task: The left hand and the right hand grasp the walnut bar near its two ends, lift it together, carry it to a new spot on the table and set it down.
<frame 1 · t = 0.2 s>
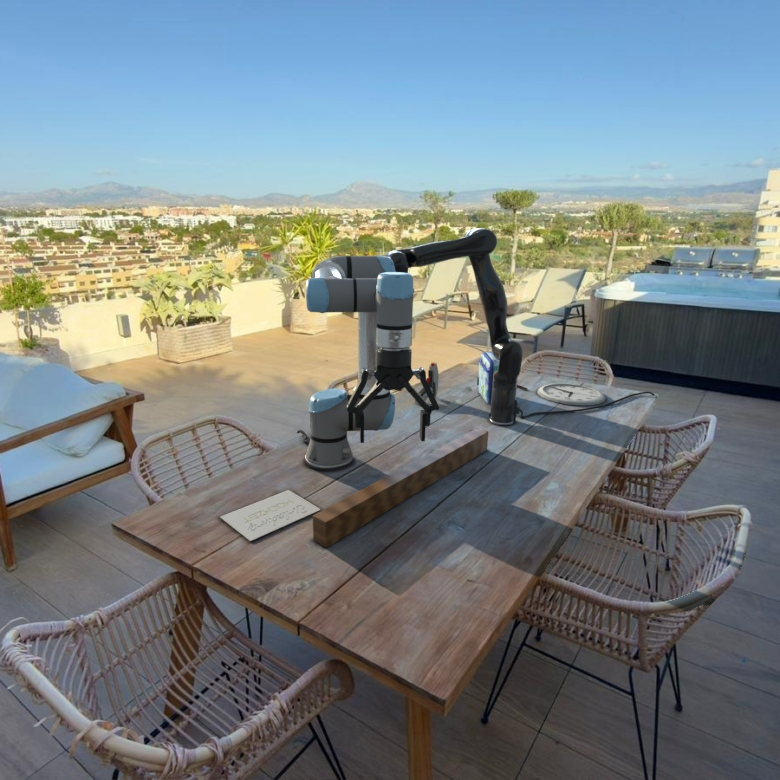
left hand: (392, 440, 117), 27 cm above the table, tool pointing down, fingers open, 13 cm apart
right hand: (394, 355, 187), 29 cm above the table, tool pointing down, fingers open, 8 cm apart
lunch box: (491, 399, 234), on the table
wall clock: (570, 395, 241), on the table
invitation card: (271, 514, 138), on the table
ruler: (515, 386, 253), on the table
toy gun: (426, 400, 230), on the table
bar: (415, 487, 153), on the table
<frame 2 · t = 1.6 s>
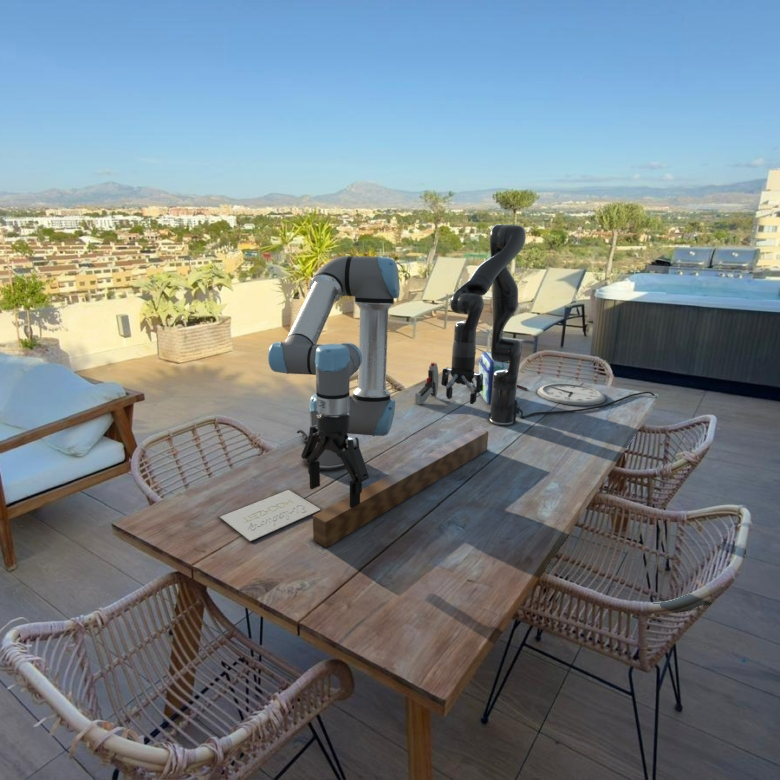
left hand: (334, 496, 126), 11 cm above the table, tool pointing down, fingers open, 13 cm apart
right hand: (460, 400, 176), 17 cm above the table, tool pointing down, fingers open, 8 cm apart
nothing on the table moved.
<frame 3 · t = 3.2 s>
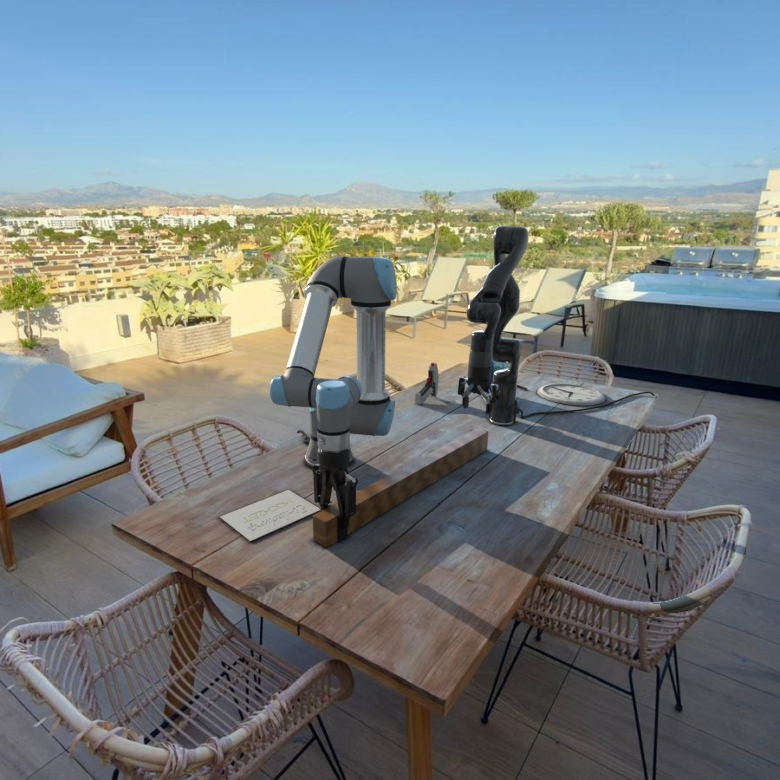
left hand: (335, 534, 129), 0 cm above the table, tool pointing down, fingers closed on bar, 4 cm apart
right hand: (476, 410, 173), 15 cm above the table, tool pointing down, fingers open, 8 cm apart
bar: (415, 487, 153), on the table, touching left hand
everything else where it was.
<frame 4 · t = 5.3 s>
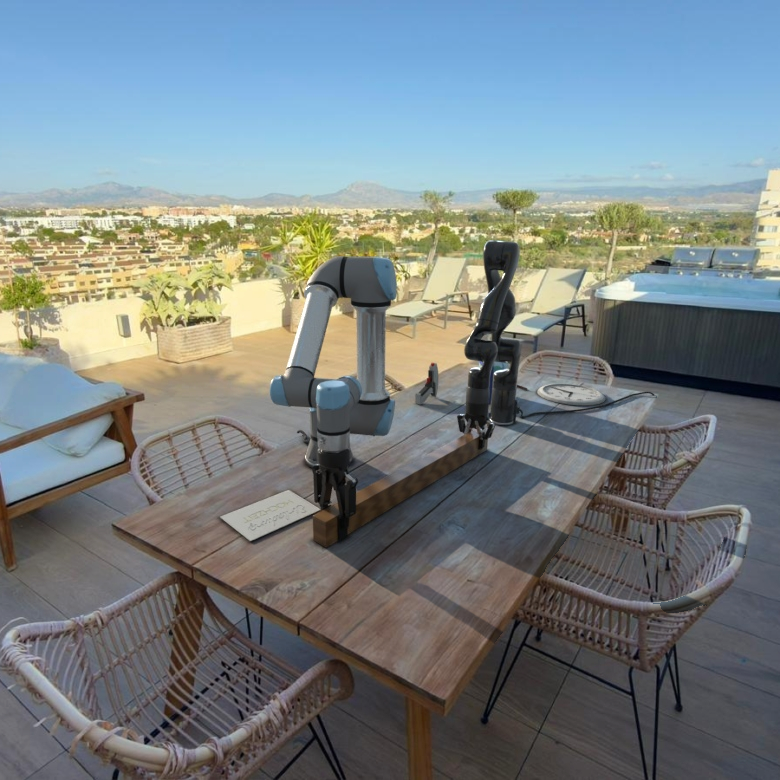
left hand: (335, 534, 129), 0 cm above the table, tool pointing down, fingers closed on bar, 4 cm apart
right hand: (474, 446, 177), 2 cm above the table, tool pointing down, fingers closed on bar, 4 cm apart
bar: (415, 487, 153), on the table, touching right hand, left hand
everything else where it was.
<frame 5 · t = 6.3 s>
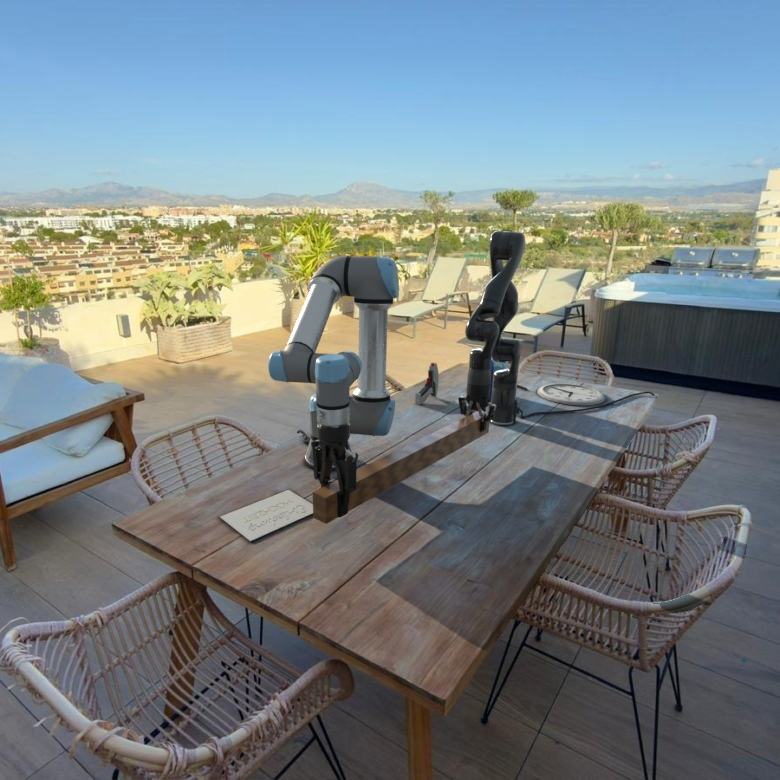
left hand: (335, 510, 128), 7 cm above the table, tool pointing down, fingers closed on bar, 4 cm apart
right hand: (475, 429, 175), 9 cm above the table, tool pointing down, fingers closed on bar, 4 cm apart
bar: (416, 467, 152), point 6 cm above the table, touching right hand, left hand
everything else where it was.
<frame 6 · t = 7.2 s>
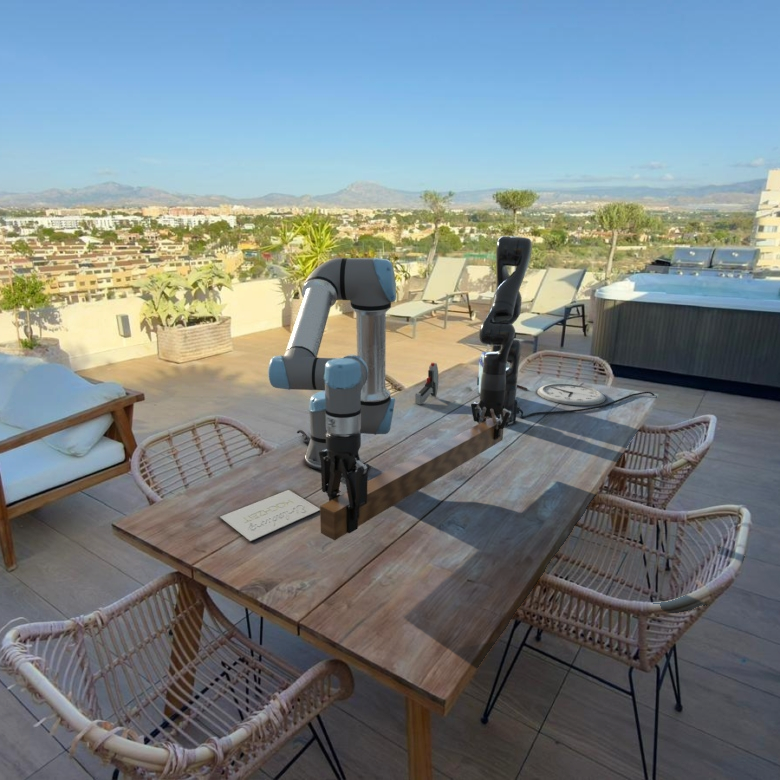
left hand: (344, 526, 119), 8 cm above the table, tool pointing down, fingers closed on bar, 4 cm apart
right hand: (489, 436, 167), 9 cm above the table, tool pointing down, fingers closed on bar, 4 cm apart
bar: (428, 478, 144), point 7 cm above the table, touching right hand, left hand
everything else where it was.
when the left hand's fingers open (1 cm above the table, at t = 9.3 s): bar stays where it is, on the table.
when the right hand's fingers open (3 cm above the table, at t = 9.4 s): bar stays where it is, on the table.
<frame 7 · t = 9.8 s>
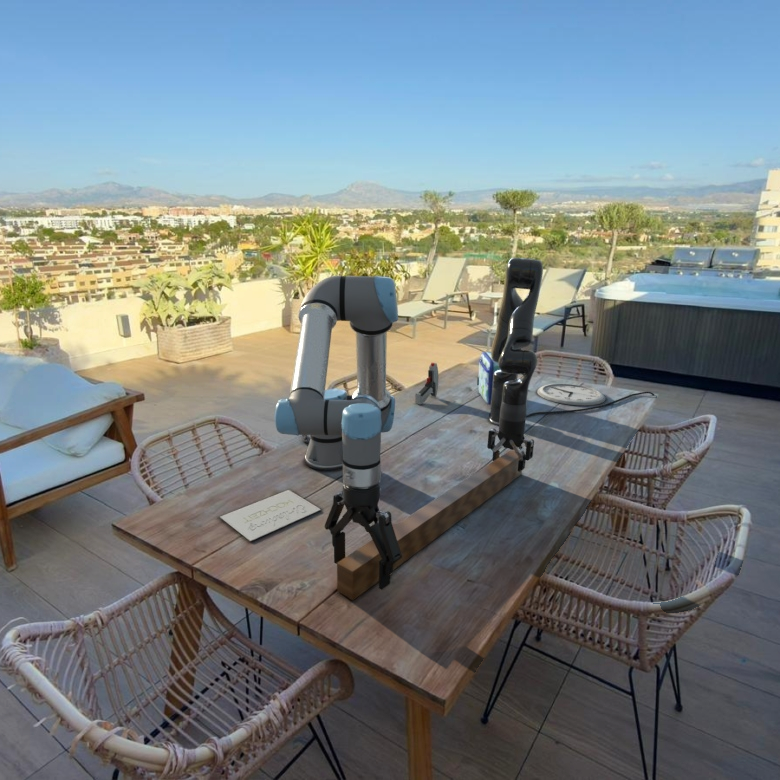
left hand: (361, 573, 111), 3 cm above the table, tool pointing down, fingers open, 12 cm apart
right hand: (508, 466, 159), 4 cm above the table, tool pointing down, fingers open, 7 cm apart
bar: (447, 521, 136), on the table
everything else where it was.
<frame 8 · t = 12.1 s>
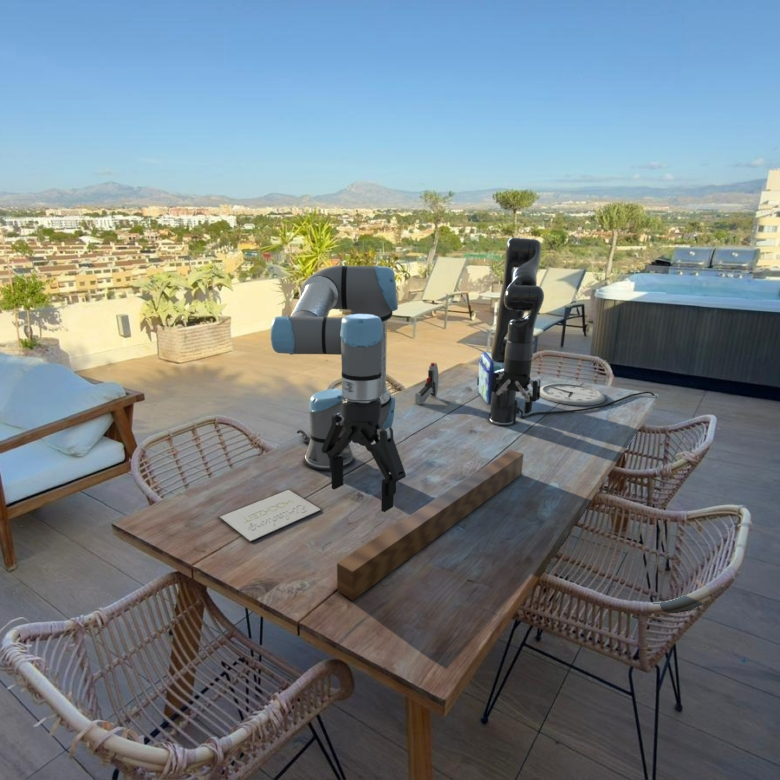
left hand: (361, 497, 105), 21 cm above the table, tool pointing down, fingers open, 13 cm apart
right hand: (513, 410, 153), 22 cm above the table, tool pointing down, fingers open, 8 cm apart
nothing on the table moved.
at the end: bar inside the target area (0.4 cm from its centre), on the table; bar tilted 0°; bar never tilted more than 1° during the clip; both hands held the bar at the same time; the left hand is holding nothing; the right hand is holding nothing; bar at rest at the end (0.0 cm/s) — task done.
